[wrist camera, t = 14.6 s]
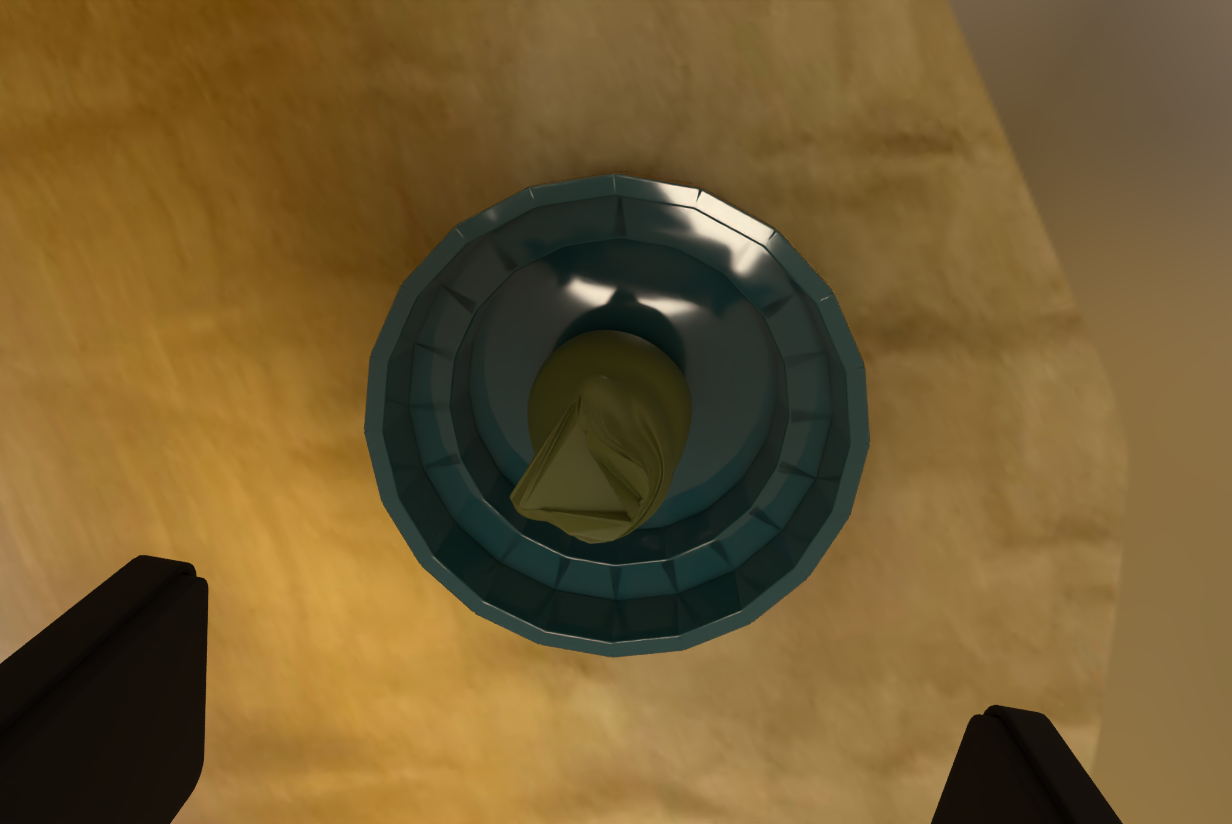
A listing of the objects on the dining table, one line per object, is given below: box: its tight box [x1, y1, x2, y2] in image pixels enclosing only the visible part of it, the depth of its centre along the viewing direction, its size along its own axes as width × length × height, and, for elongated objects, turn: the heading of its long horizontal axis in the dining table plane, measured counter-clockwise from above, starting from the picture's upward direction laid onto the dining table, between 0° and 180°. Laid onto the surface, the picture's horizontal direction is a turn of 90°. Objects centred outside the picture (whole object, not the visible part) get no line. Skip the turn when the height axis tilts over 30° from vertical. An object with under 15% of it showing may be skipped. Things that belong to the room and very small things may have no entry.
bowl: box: [364, 171, 870, 657], centre depth 28 cm, size 15×15×6 cm
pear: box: [510, 330, 692, 544], centre depth 25 cm, size 6×5×10 cm
